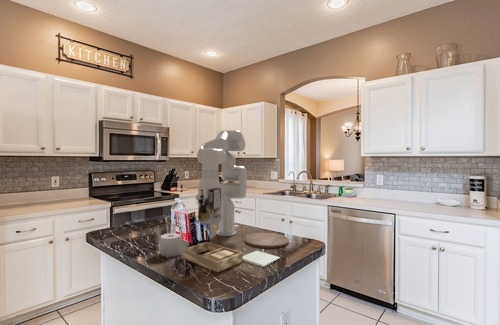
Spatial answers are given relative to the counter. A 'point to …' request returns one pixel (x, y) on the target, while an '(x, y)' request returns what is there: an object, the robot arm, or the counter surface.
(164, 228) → the counter surface
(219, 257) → the offcut top
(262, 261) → the pad
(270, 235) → the trivet
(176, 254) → the toilet tissue
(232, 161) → the robot arm
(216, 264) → the wooden tray
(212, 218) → the coffee box
